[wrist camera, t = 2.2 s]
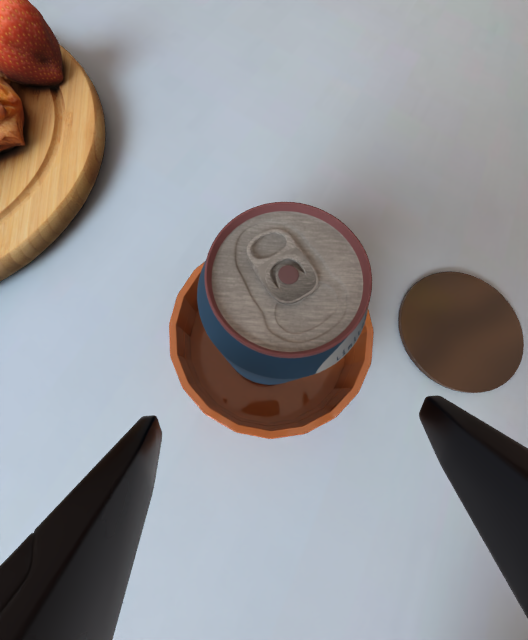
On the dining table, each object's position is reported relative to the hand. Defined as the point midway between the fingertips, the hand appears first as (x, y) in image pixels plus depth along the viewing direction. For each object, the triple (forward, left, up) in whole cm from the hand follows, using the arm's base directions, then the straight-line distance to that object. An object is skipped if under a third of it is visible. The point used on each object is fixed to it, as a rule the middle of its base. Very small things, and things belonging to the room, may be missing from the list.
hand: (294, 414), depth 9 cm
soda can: (+4, -3, -11) cm, 12 cm away
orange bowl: (+4, -3, -11) cm, 12 cm away
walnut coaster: (-6, -15, -11) cm, 20 cm away
